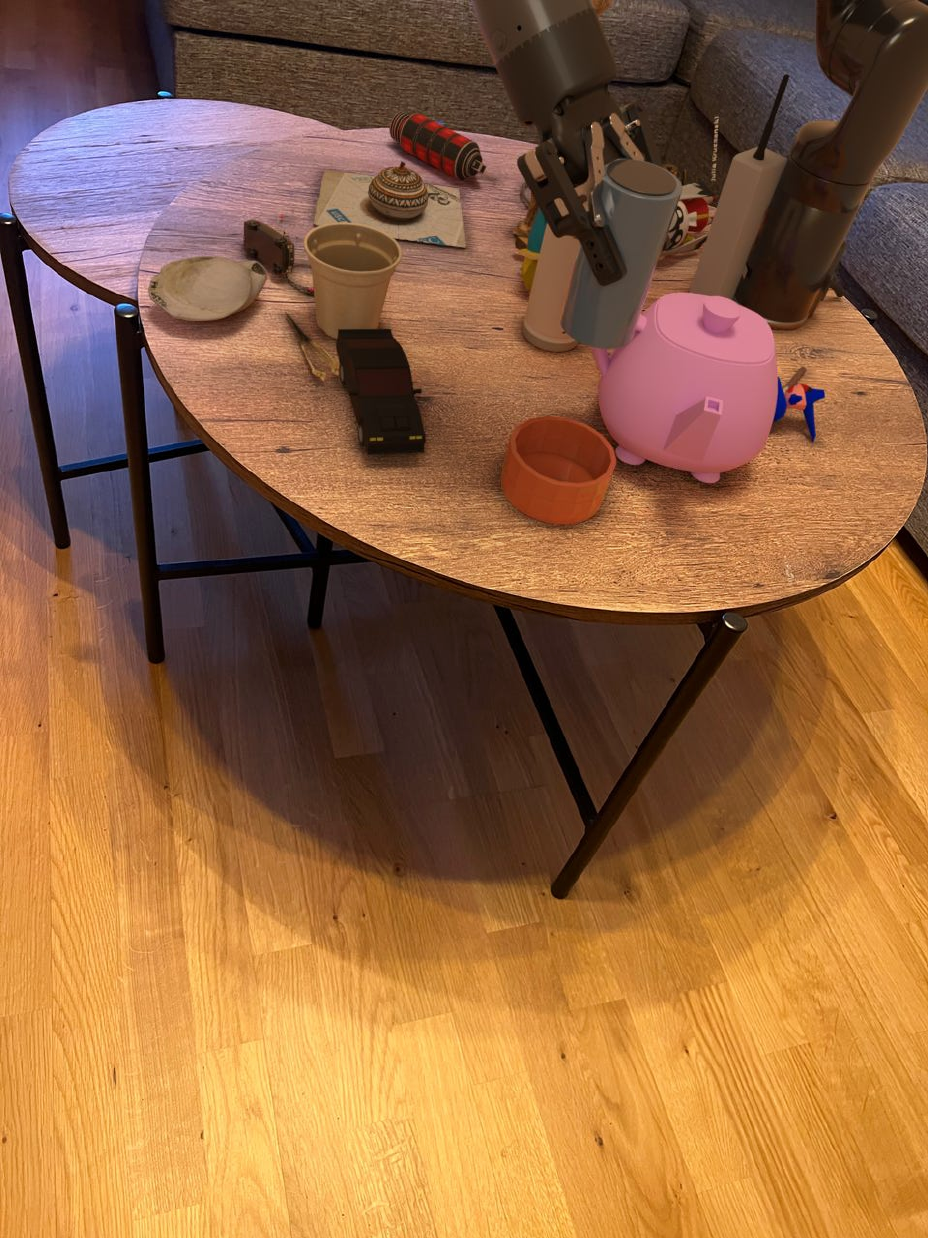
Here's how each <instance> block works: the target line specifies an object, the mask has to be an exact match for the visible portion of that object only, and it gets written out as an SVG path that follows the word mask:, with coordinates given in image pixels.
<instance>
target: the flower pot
mask: <svg viewBox="0 0 928 1238" xmlns="http://www.w3.org/2000/svg"><path fill="white" fill-rule="evenodd" d="M303 249H304V252H305V254H306V255H307V259H308V263H309V265H310V266H311V267H310V268H311V277H312V284H313V285H312V286H313V287H314V295H313V296H314V305H315V317H316V318H315V319H316V325H317V327H318V328H320V329H321V330H322V331H323V332H324V333H325V335H326V336H328V337H330V338H332V339H335V340H336V339H337V338H338V329H379V325H380V320H381V316H382V311H383V309H384V304H385V300H386V297H387V293H388V290H389V287H390V282H391V280H392V279H391V278H392V277H393V276H394V274H395V272H396V270H397V269H396V268H397V267H398V266H399V265H400V263H401V262H402V259H403V250H402V247H401V245H400V244H399V242H398V241H397V240H396V238H393V237H392V236H390V235H389V234H387V233H385V232H384V231H381V230H379V229H377V228H374V227H371V226H368V225H364V224H357V223H347V222H339V223H338V222H336V223H328V224H324V225H321V226H319V225H317V226H315V227H314V228H312V229H310V230H309V231H308V232H307V233H306V234H305V236H304V239H303Z"/></svg>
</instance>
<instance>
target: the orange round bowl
mask: <svg viewBox="0 0 928 1238" xmlns="http://www.w3.org/2000/svg"><path fill="white" fill-rule="evenodd" d="M616 467H617V458H616V453H615V449H614V447H613V446H612V445H611V444H610V442H609V441H608V439H606V437H605V436H604V435H603V434H602V433H600V432H599V431H597V430H596V429H594V428H593V427H592V426H590V425H588V424H586V423H583V422H581V421H578V420H575V419H573V418H569V417H565V416H564V417H563V416H557V415H543V416H537V417H530V418H528V419H526V420H525V421H523V422H521V423H519V424H517V425H516V426H515V428H514V430H513V431H512V433H511V435H510V437H509V440H508V444H507V448H506V452H505V456H504V460H503V464H502V468H501V476H500V487H501V490H502V492H503V494H504V496H505V497H506V499H507V500H508V502H509V503H510V504H511V505H512V506H513V507H514V508H516V509H517V510H518V511H520V513H522V514H524V515H526V516H527V517H530V518H532V519H534V520H537V521H540V522H543V523H547V524H552V525H564V526H565V525H574V524H579V523H583V522H584V521H587V520H589V519H590V518H592V517H593V516H595V515H596V514H597V513H598V511H599V510H600V508H601V506H602V503H603V500H604V498H605V495H606V493H607V490H608V488H609V485H610V482H611V479H612V476H613V473H614V471H615V468H616Z"/></svg>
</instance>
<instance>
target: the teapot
mask: <svg viewBox="0 0 928 1238" xmlns="http://www.w3.org/2000/svg"><path fill="white" fill-rule="evenodd" d="M774 337H775V336H774V334H773V330H772V328H771V327H770V326H769V325H768V323H767V322H766V320H765V319H764V318H762V317H761V316H760V315H758V314H757V313H755V312H753V311H752V310H749V309H747V308H745V307H743V306H740V305H738V304H737V303H736V302H734V301H732V300H730V299H728V298H725V297H721V296H706V295H701V294H693V293H689V292H672V293H668V294H663V295H662V296H661V297H658V299H656V300H655V301H654V302H653V303H652V304H651V305H649V306H648V307H647V308H646V309H645V310H644V311H643V312H641V314H640V317H639V320H638V323H637V326H636V329H635V332H634V335H633V338H632V340H631V341H630V342H629V343H628V344H627V345H625V346H623V347H620V348H615V349H612V350H611V353H610V354H609V352H608V349H601V348H595V347H591V346H588V347H589V350H590V351H591V352H590V353H591V355H592V357H593V360H594V362H595V364H596V366H597V369H598V371H599V373H600V378H599V383H598V391H597V392H598V394H597V395H598V396H597V397H598V407H599V410H600V414H601V418H602V420H603V423H604V425H605V427H606V430H607V431H608V433H609V435H610V436H611V438H612V439H613V440H614V441H615V442H616V443H617V447H616V448H615V449H614V453H615V456H616V457H617V458H618V459H619V460H620V461H622V462H623V463H626V464H628V465H631V466H633V465H634V466H637V465H642V464H643V463H645V462H646V460H648V461H649V462H652V463H655V464H658V465H660V466H664V467H667V468H669V469H670V468H671V469H673V470H679V471H684V472H685V471H686V472H690V474H691V475H692V476H693V478H694V479H696V480H698V481H699V482H703V483H705V484H714V483H716V482H718V481H719V480H720V479H721V473H725V472H729V471H732V470H734V469H737V468H740V467H742V466H743V465H746V464H747V463H750V462H751V461H753V460H754V459H755V458H757V457H758V455H759V454H760V453H761V452H762V451H763V449H764V447H765V446H766V444H767V441H768V438H769V435H770V432H771V430H772V425H773V423H774V422H773V419H774V414H775V410H776V403H777V395H778V377H779V374H778V359H777V358H778V357H777V349H776V344H775V338H774Z"/></svg>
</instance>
